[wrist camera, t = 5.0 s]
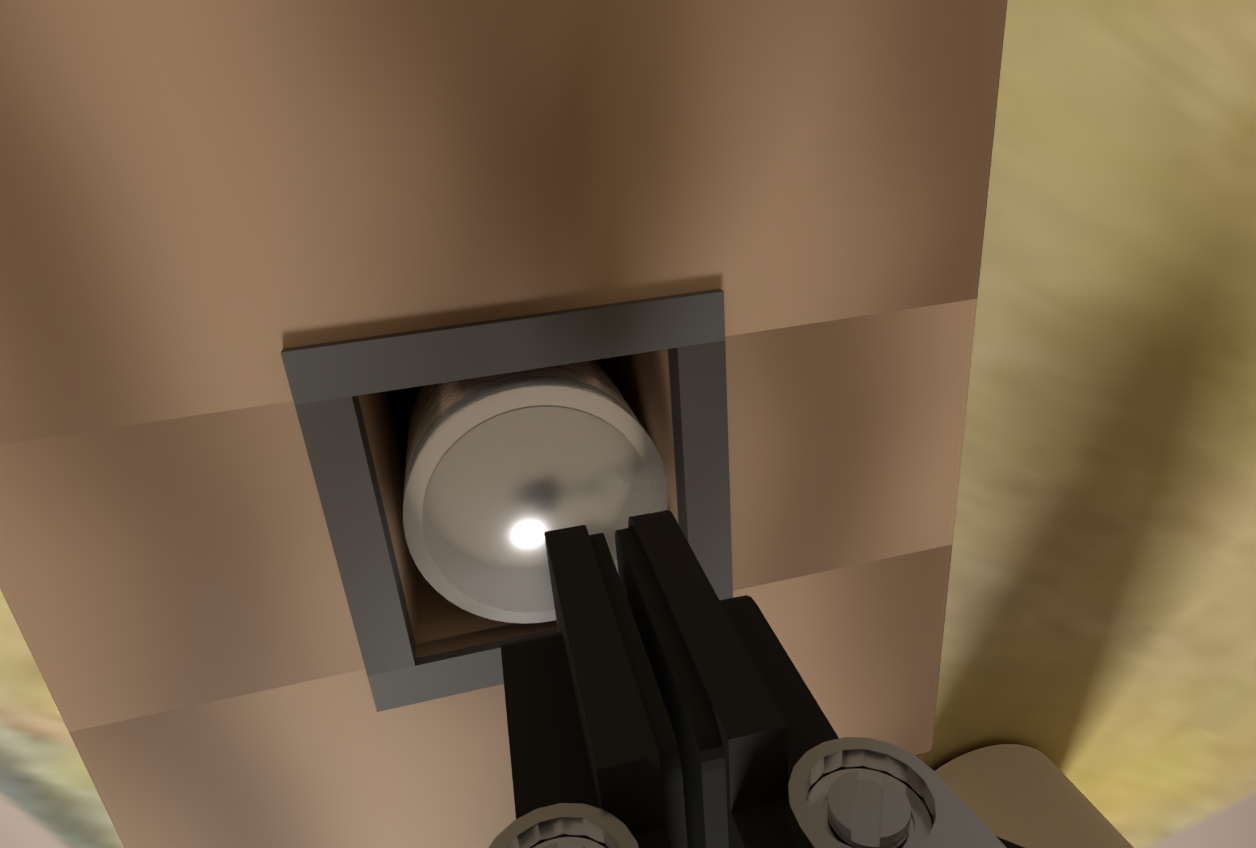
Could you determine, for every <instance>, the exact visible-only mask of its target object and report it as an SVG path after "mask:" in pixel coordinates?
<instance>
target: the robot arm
mask: <svg viewBox="0 0 1256 848" xmlns="http://www.w3.org/2000/svg"><path fill="white" fill-rule="evenodd" d="M544 535H545V543H546V550H547V557H548V565H549V572H550V579H551V586H552V593H553V600H554V607H555V614H556V621H557V628H558V632H556V633H551V634H546V635H541V636H536V637H531V638H526V639H521V640H516V641H511V642H506V643H501V657H502V668H503V679H504V691H505V702H506V713H507V724H508V735H509V746H510V758H511V769H512V780H513V791H514V802H515V814H516V820H514V821H513V822H512V823H511V824H510V825H509V826H507V827H506V828H505V829H504V830H503V831H502V832H501V833H500V834H499V835H497V836H496V837H495V838H494V840H493V841H492V843H491V845H490V846H489V848H1025V847H1022V846H1020V845H1017V844H1015V843H1012V842H1010V841H1007V840H1005V839H1002V838H1000V837H997V836H995V835H994V834H993V833H992V832H991V831H990V829H989V828H988V827H987V826H986V825H985V824H984V823H983V822H982V821H981V820H980V819H979V818H978V817H977V816H976V815H975V814H974V813H973V811H972V810H971V809H970V808H969V807H968V806H967V805H966V804H965V803H964V802H963V801H962V800H961V799H960V798H959V797H958V796H957V795H956V793H955V792H954V791H953V790H952V789H951V788H950V787H949V786H948V785H947V784H946V783H945V782H944V781H943V780H942V779H941V778H940V777H939V775H938V774H937V773H936V772H935V771H934V770H932V769H931V768H930V767H929V766H928V765H926V764H925V763H924V762H923V761H922V760H920V759H919V758H918V757H917V756H916V755H914V754H912V753H910V752H908V751H906V750H904V749H902V748H900V747H898V746H896V745H894V744H891V743H887V742H883V741H880V740H876V739H872V738H860V737H843V738H839V737H838V736H837V734H836V732H835V731H834V729H833V728H832V726H831V724H830V723H829V721H828V719H827V718H826V716H825V715H824V713H823V711H822V710H821V708H820V706H819V705H818V703H817V701H816V700H815V698H814V697H813V695H812V693H811V692H810V690H809V688H808V687H807V685H806V684H805V682H804V680H803V679H802V677H801V675H800V674H799V672H798V670H797V669H796V667H795V666H794V664H793V662H792V661H791V659H790V657H789V656H788V654H787V653H786V651H785V649H784V648H783V646H782V644H781V643H780V641H779V639H778V638H777V636H776V635H775V633H774V631H773V630H772V628H771V626H770V625H769V623H768V622H767V620H766V618H765V617H764V615H763V613H762V612H761V610H760V609H759V607H758V605H757V604H756V602H755V601H754V600H753V599H752V597H750V596H748V595H744V596H739V597H734V598H729V599H724V600H719V598H718V597H717V595H716V593H715V591H714V589H713V587H712V585H711V584H710V582H709V580H708V578H707V576H706V574H705V573H704V571H703V569H702V567H701V565H700V563H699V561H698V560H697V558H696V556H695V554H694V552H693V550H692V549H691V547H690V545H689V543H688V541H687V539H686V537H685V536H684V534H683V532H682V530H681V528H680V526H679V525H678V523H677V521H676V519H675V517H674V515H673V514H672V512H671V511H670V510H665V511H660V512H654V513H648V514H643V515H637V516H631V517H629V519H628V528H626V529H620V530H615V544H616V554H617V564H618V572H617V569H616V566H615V564H614V561H613V558H612V555H611V552H610V550H609V547H608V544H607V541H606V538H605V536H604V533H598V534H592V535H589V533H588V530H587V527H586V525H580V526H574V527H569V528H563V529H557V530H551V531H546V532H544ZM618 574H619V575H618Z"/></svg>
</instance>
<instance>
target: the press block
mask: <svg viewBox="0 0 1256 848" xmlns="http://www.w3.org/2000/svg"><path fill="white" fill-rule="evenodd" d="M1006 9H1007V0H0V589H1V591H2V593H3V595H4V597H5V599H6V601H7V604H8V606H9V608H10V610H11V612H12V614H13V616H14V618H15V620H16V622H17V624H18V626H19V629H20V631H21V633H22V635H23V637H24V639H25V641H26V643H27V645H28V647H29V649H30V652H31V654H32V656H33V658H34V660H35V662H36V664H37V666H38V668H39V670H40V672H41V675H42V677H43V679H44V681H45V683H46V685H47V687H48V689H49V691H50V693H51V695H52V698H53V700H54V702H55V704H56V706H57V708H58V710H59V712H60V714H61V716H62V718H63V720H64V723H65V725H66V727H67V729H68V731H69V733H70V735H71V737H72V739H73V741H74V743H75V746H76V748H77V750H78V752H79V754H80V756H81V758H82V760H83V762H84V764H85V766H86V769H87V771H88V773H89V775H90V777H91V779H92V781H93V783H94V785H95V787H96V789H97V792H98V794H99V796H100V798H101V800H102V802H103V804H104V806H105V808H106V810H107V812H108V814H109V817H110V819H111V821H112V823H113V825H114V827H115V829H116V831H117V833H118V835H119V837H120V840H121V842H122V844H123V846H124V848H489V846H490V845H491V843H492V841H493V840H494V838H495V837H496V836H497V835H499V834H500V833H501V832H502V831H503V830H504V829H505V828H506V827H507V826H509V825H510V824H511V823H512V822H513V821H514V820H516V814H515V802H514V791H513V780H512V769H511V758H510V746H509V735H508V724H507V713H506V702H505V691H504V679H503V668H502V657H501V643H506V642H511V641H516V640H521V639H526V638H531V637H536V636H541V635H546V634H551V633H556V632H558V628H557V621H556V620H555V621H548V622H542V623H525V624H522V623H507V622H502V621H496V620H491V619H488V618H484V617H481V616H478V615H475V614H473V613H470V612H468V611H466V610H464V609H462V608H460V607H458V606H457V605H455V604H453V603H452V602H450V601H448V600H447V599H446V598H445V597H443V596H442V595H441V594H440V593H439V592H437V591H436V590H435V589H434V588H433V587H432V586H431V585H430V583H429V582H428V581H427V580H426V579H425V578H424V576H423V575H422V573H421V572H420V570H419V569H418V568H417V566H416V564H415V562H414V560H413V558H412V556H411V554H410V551H409V548H408V545H407V541H406V538H405V532H404V525H403V500H404V485H405V469H406V454H407V439H408V424H409V410H408V405H407V400H406V395H405V390H404V389H405V388H411V387H418V386H425V385H431V384H438V383H445V382H451V381H458V380H465V379H471V378H478V377H485V376H491V375H498V374H505V373H511V372H518V371H525V370H531V369H538V368H545V367H551V366H558V365H565V364H571V363H578V362H584V361H591V360H599V362H600V363H601V365H602V366H603V368H604V369H605V371H606V372H607V374H608V375H609V377H610V378H611V380H612V381H613V383H614V384H615V386H616V387H617V389H618V390H619V392H620V393H621V395H622V397H623V398H624V400H625V401H626V403H627V404H628V406H629V407H630V409H631V410H632V412H633V413H634V415H635V416H636V418H637V419H638V421H639V422H640V424H641V425H642V427H643V428H644V430H645V431H646V433H647V434H648V436H649V437H650V439H651V440H652V442H653V443H654V445H655V446H656V449H657V451H658V453H659V455H660V457H661V459H662V463H663V466H664V469H665V473H666V479H667V486H668V506H667V510H670V511H671V512H672V514H673V515H674V517H675V519H676V521H677V523H678V525H679V526H680V528H681V530H682V532H683V534H684V536H685V537H686V539H687V541H688V543H689V545H690V547H691V549H692V550H693V552H694V554H695V556H696V558H697V560H698V561H699V563H700V565H701V567H702V569H703V571H704V573H705V574H706V576H707V578H708V580H709V582H710V584H711V585H712V587H713V589H714V591H715V593H716V595H717V597H718V598H719V600H724V599H729V598H734V597H739V596H744V595H748V596H750V597H752V599H753V600H754V601H755V602H756V604H757V605H758V607H759V609H760V610H761V612H762V613H763V615H764V617H765V618H766V620H767V622H768V623H769V625H770V626H771V628H772V630H773V631H774V633H775V635H776V636H777V638H778V639H779V641H780V643H781V644H782V646H783V648H784V649H785V651H786V653H787V654H788V656H789V657H790V659H791V661H792V662H793V664H794V666H795V667H796V669H797V670H798V672H799V674H800V675H801V677H802V679H803V680H804V682H805V684H806V685H807V687H808V688H809V690H810V692H811V693H812V695H813V697H814V698H815V700H816V701H817V703H818V705H819V706H820V708H821V710H822V711H823V713H824V715H825V716H826V718H827V719H828V721H829V723H830V724H831V726H832V728H833V729H834V731H835V732H836V734H837V736H838V737H839V738H843V737H860V738H872V739H876V740H880V741H883V742H887V743H891V744H894V745H896V746H898V747H900V748H902V749H904V750H906V751H908V752H910V753H912V754H914V755H918V754H921V753H925V752H929V751H931V750H932V740H933V730H934V720H935V711H936V701H937V691H938V681H939V671H940V661H941V651H942V641H943V632H944V622H945V612H946V602H947V592H948V582H949V572H950V562H951V552H952V543H953V533H954V523H955V513H956V503H957V493H958V483H959V473H960V464H961V454H962V444H963V434H964V424H965V414H966V404H967V394H968V384H969V375H970V365H971V355H972V345H973V335H974V325H975V315H976V305H977V296H978V286H979V276H980V266H981V256H982V246H983V236H984V226H985V217H986V207H987V197H988V187H989V177H990V167H991V157H992V147H993V137H994V128H995V118H996V108H997V98H998V88H999V78H1000V68H1001V58H1002V49H1003V39H1004V29H1005V19H1006Z"/></svg>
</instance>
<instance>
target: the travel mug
mask: <svg viewBox="0 0 1256 848" xmlns="http://www.w3.org/2000/svg"><path fill="white" fill-rule="evenodd" d="M935 772H936V773H937V774H938V775H939V777H940V778H941V779H942V780H943V781H944V782H945V783H946V784H947V785H948V786H949V787H950V788H951V789H952V790H953V791H954V792H955V793H956V795H957V796H958V797H959V798H960V799H961V800H962V801H963V802H964V803H965V804H966V805H967V806H968V807H969V808H970V809H971V810H972V811H973V813H974V814H975V815H976V816H977V817H978V818H979V819H980V820H981V821H982V822H983V823H984V824H985V825H986V826H987V827H988V828H989V829H990V831H991V832H992V833H993V834H994V835H995V836H997V837H1000V838H1002V839H1005V840H1007V841H1010V842H1012V843H1015V844H1017V845H1020V846H1022V847H1025V848H1133V846H1132V845H1131V844H1130V843H1129V842H1128V841H1127V840H1126V839H1125V838H1124V837H1123V836H1122V835H1121V834H1120V833H1119V832H1118V831H1117V830H1116V829H1115V828H1114V826H1113V825H1112V824H1111V823H1110V822H1109V821H1108V820H1107V819H1106V818H1105V817H1104V816H1103V815H1102V814H1101V813H1100V812H1099V811H1098V810H1097V809H1096V808H1095V806H1094V805H1093V804H1092V803H1091V802H1090V801H1089V800H1088V799H1087V798H1086V797H1085V796H1084V795H1083V794H1082V793H1081V792H1080V791H1079V790H1078V789H1077V788H1076V786H1075V785H1074V784H1073V783H1072V782H1071V781H1070V780H1069V779H1068V778H1067V777H1066V776H1065V775H1064V774H1063V773H1062V772H1061V771H1060V770H1059V769H1058V768H1057V766H1056V765H1055V764H1054V763H1053V762H1052V761H1051V760H1050V759H1049V758H1048V757H1047V756H1046V755H1044V754H1043V753H1042V752H1040V751H1038V750H1036V749H1034V748H1032V747H1028V746H1025V745H1019V744H1000V745H993V746H988V747H983V748H980V749H977V750H974V751H971V752H968V753H966V754H964V755H961V756H959V757H957V758H955V759H953V760H951V761H949V762H948V763H946V764H944V765H943V766H941V767H940V768H938V769H937V770H935Z"/></svg>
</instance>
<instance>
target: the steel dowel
mask: <svg viewBox="0 0 1256 848" xmlns="http://www.w3.org/2000/svg"><path fill="white" fill-rule="evenodd" d="M667 506H668V486H667V479H666V473H665V469H664V466H663V463H662V459H661V457H660V455H659V453H658V451H657V449H656V446H655V445H654V443H653V442H652V440H651V439H650V437H649V436H648V434H647V433H646V431H645V430H644V428H643V427H642V425H641V424H640V422H639V421H638V419H637V418H636V416H635V415H634V413H633V412H632V410H631V409H630V407H629V406H628V404H627V403H626V401H625V400H624V398H623V397H622V395H621V393H620V392H619V390H618V389H617V387H616V386H615V384H614V383H613V381H612V380H611V378H610V377H609V375H608V374H607V372H606V371H605V369H604V368H603V366H602V365H601V363H600V362H599V360H591V361H584V362H578V363H571V364H565V365H558V366H551V367H545V368H538V369H531V370H525V371H518V372H511V373H505V374H498V375H491V376H485V377H478V378H471V379H465V380H458V381H451V382H445V383H438V384H431V385H425V386H418V387H411V394H410V409H409V424H408V439H407V454H406V469H405V485H404V500H403V525H404V532H405V538H406V541H407V545H408V548H409V551H410V554H411V556H412V558H413V560H414V562H415V564H416V566H417V568H418V569H419V570H420V572H421V573H422V575H423V576H424V578H425V579H426V580H427V581H428V582H429V583H430V585H431V586H432V587H433V588H434V589H435V590H436V591H437V592H439V593H440V594H441V595H442V596H443V597H445V598H446V599H447V600H448V601H450V602H452V603H453V604H455V605H457V606H458V607H460V608H462V609H464V610H466V611H468V612H470V613H473V614H475V615H478V616H481V617H484V618H488V619H491V620H496V621H502V622H507V623H522V624H525V623H542V622H548V621H555V620H556V614H555V607H554V600H553V593H552V586H551V579H550V572H549V565H548V557H547V550H546V543H545V535H544V532H546V531H551V530H557V529H563V528H569V527H574V526H580V525H586V527H587V530H588V533H589V535H592V534H598V533H604V536H605V538H606V541H607V544H608V547H609V550H610V552H611V555H612V558H613V561H614V564H615V566H616V569H617V572H618V564H617V554H616V544H615V530H620V529H626V528H628V519H629V517H631V516H637V515H643V514H648V513H654V512H660V511H665V510H667ZM618 575H619V574H618Z"/></svg>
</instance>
